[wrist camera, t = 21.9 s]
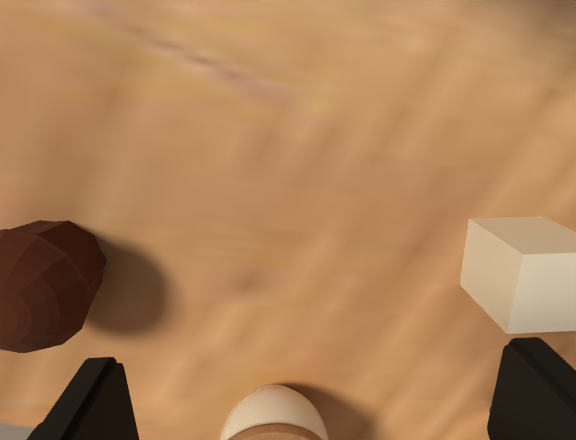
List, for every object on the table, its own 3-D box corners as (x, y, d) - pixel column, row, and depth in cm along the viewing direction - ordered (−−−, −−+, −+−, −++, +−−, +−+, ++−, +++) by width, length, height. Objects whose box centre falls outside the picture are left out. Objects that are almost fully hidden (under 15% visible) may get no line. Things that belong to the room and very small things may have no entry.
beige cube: (469, 218, 38) (523, 254, 30) (541, 216, 39) (615, 251, 30) (459, 284, 41) (506, 333, 33) (527, 281, 41) (591, 330, 33)
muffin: (-8, 204, 36) (-107, 245, 27) (109, 205, 36) (52, 246, 27) (19, 309, 40) (-59, 378, 30) (124, 309, 40) (79, 376, 31)
